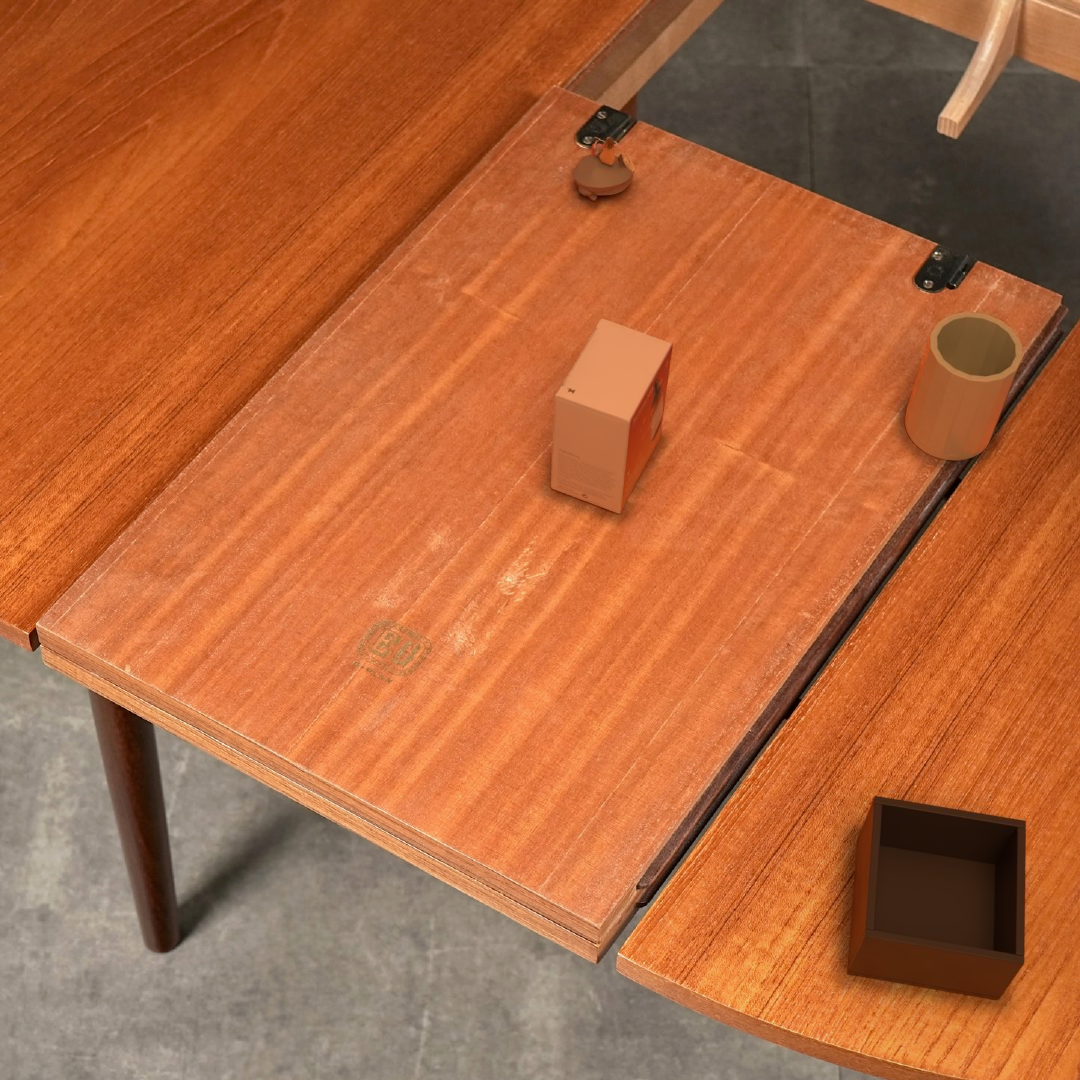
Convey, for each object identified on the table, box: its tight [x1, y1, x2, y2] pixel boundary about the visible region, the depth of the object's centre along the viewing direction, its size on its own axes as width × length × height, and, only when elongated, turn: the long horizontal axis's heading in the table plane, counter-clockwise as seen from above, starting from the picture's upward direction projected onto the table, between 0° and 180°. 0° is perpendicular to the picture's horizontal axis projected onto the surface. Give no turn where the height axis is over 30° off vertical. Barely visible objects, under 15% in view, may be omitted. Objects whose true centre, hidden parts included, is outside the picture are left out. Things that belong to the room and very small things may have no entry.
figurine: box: [572, 136, 637, 202], centre depth 137 cm, size 5×4×6 cm
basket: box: [846, 795, 1027, 1001], centre depth 101 cm, size 9×9×6 cm
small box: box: [550, 318, 674, 515], centre depth 119 cm, size 8×6×10 cm
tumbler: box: [904, 311, 1024, 462], centre depth 122 cm, size 6×6×9 cm
